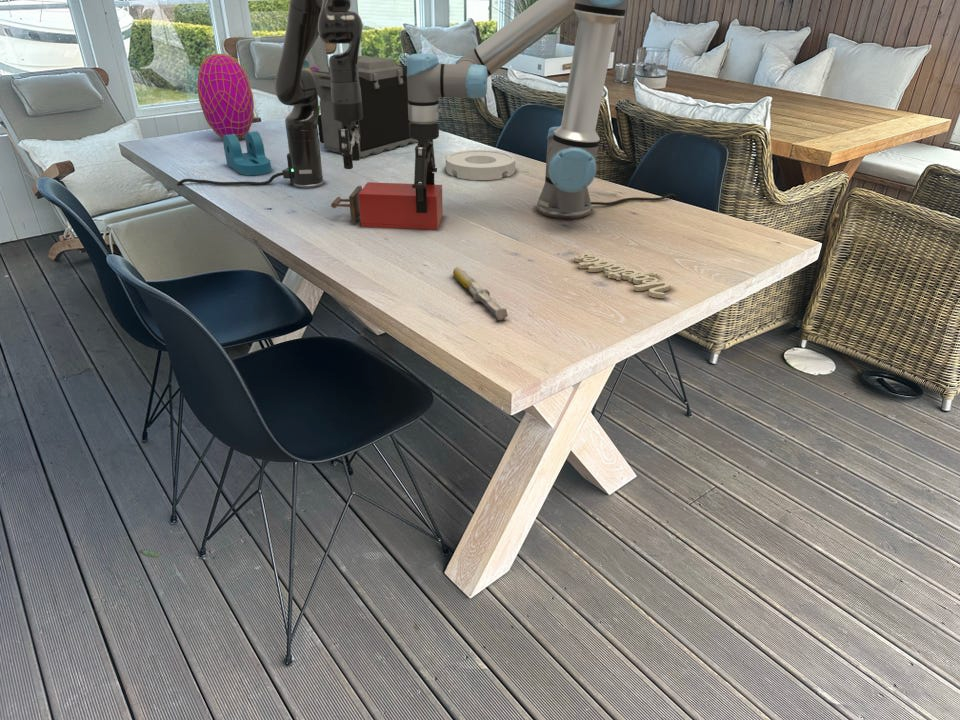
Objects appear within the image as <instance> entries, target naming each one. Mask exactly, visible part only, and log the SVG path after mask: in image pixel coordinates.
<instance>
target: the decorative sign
mask: <svg viewBox="0 0 960 720" xmlns="http://www.w3.org/2000/svg"><path fill="white" fill-rule="evenodd" d="M574 262H575V263H578V269H588V270H587V272H588V273H598V272H603V273H604V276H606V277H607V278H608V279H614V280H617V281H621V279H622V280H627V281H628V282H630V283H633V284H634V285H633V291H636V292H643V291H647V290H648V293H647V294H648V296H649V297H652V298H656V299H664V298H665V295H666V292H668V291H669V290H670V289H671V283H670V282H668V281H659V279H658V272H657V271H648V272H639V271H637V270H634V269H630V268H628V267H627V266H626V267H625V266H624V265H619V264H618V263H615V262H611V261H610V260H604V258H601V257H598V256H596V255H592V254H590V253H587V252H586V253H582V254H581V255H580V256H578V255H575V256H574Z"/></svg>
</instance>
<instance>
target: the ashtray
mask: <svg viewBox="0 0 960 720" xmlns="http://www.w3.org/2000/svg"><path fill="white" fill-rule="evenodd" d="M445 172H446V174H448V175H449V176H453V177H455V176H456V177H457V179H461V180H462V179H463V180H470V181H492V180H494V181H495V180H501V179H503V177H504V178H505V177H511V176H512V175H514V174H515V172H516V158H515V156H514V155H512V154H510V153H507V152H503V151H498V150H490V149H470V150H469V149H468V150H461V151H456V152H452V153H450V154H448V155H447V156H445Z"/></svg>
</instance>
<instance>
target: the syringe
mask: <svg viewBox="0 0 960 720" xmlns="http://www.w3.org/2000/svg"><path fill="white" fill-rule="evenodd" d="M452 274H453V277H454V279H455V280H457V281H458V282H459V283H460V285H462V287H464V289H466V290H467V291H468V293H470V295H471V296H472V298H473V300H474V302H477V303H478V302H480V303H482V304H483V305H484V306H485V307H486V308H487V309H488V310H489V311H490V312H491V313H492V314H493V315H494V316H495V317H496V320H497V321H503V320H504V319H506V318H507V317H509V314H508V310H507V308H506V307H502V306H501V305H500V303H498V302H497V301H496V300H494V299H493V298H492V297H491V296H490V295H491V293H490V290H488V289H486V288H483V287H482V286H481V285H480V284H479V283H478V282H477V281H476V280H474V278H473V277H471V275H469V274H468V273H467V272H466V270H465V269H464V268H463V267H462V266H456V267H454V268H453V271H452Z"/></svg>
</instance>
